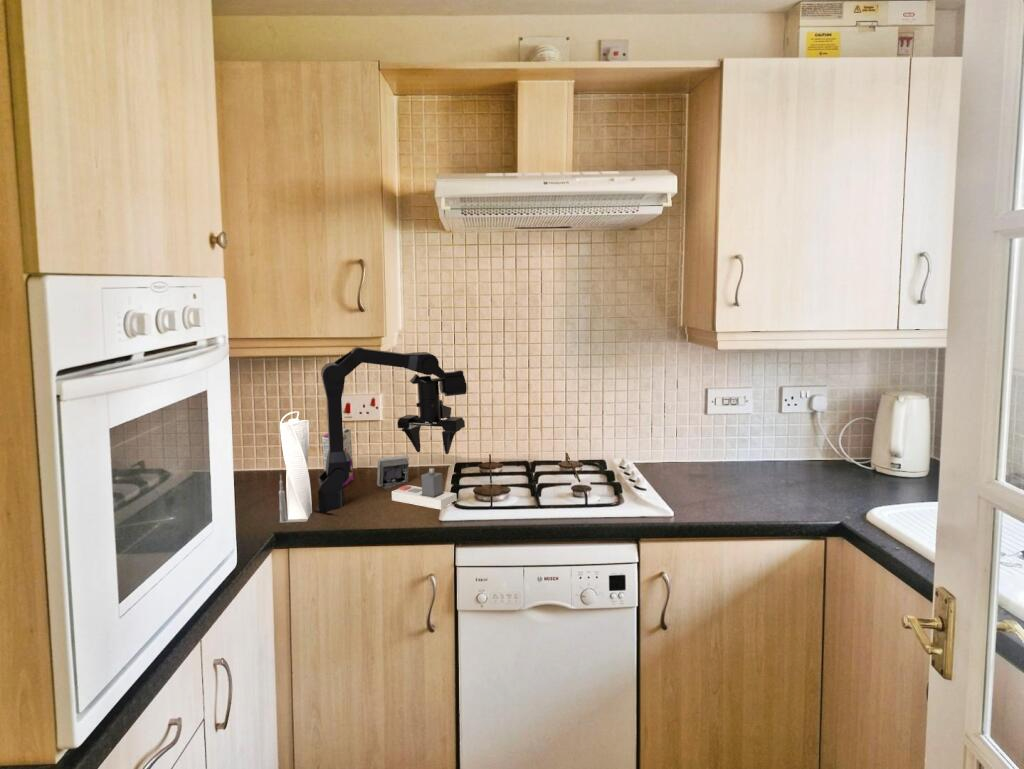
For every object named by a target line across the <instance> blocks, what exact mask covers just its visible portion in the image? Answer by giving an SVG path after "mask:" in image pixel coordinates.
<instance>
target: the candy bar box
mask: <svg viewBox="0 0 1024 769" xmlns="http://www.w3.org/2000/svg"><path fill="white" fill-rule="evenodd" d="M351 434H352V433H351V428H350V427H349V428H346V427H343V447H344V453H349V455H350V457H351V464H350V468H351V471H352V473H350V472H349V478H348V480H347V481H346V482H345V483H343V488H344V487H345V485H346V486H347V485H348V484H349V482H350V483H351V482H353V480H355V479H354V478H355V477H354V466H353V463H354V461H353V451H352V450H353V449H352V448H353V447H352V435H351ZM321 448H322V461H323V462H322V463H323V472H324V471H325V468H326V461H327V455H328V450H329V437H328V432H327V433H326V434H323V435H321Z"/></svg>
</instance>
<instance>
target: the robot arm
mask: <svg viewBox="0 0 1024 769" xmlns="http://www.w3.org/2000/svg"><path fill="white" fill-rule="evenodd" d="M362 363H363V364H364V363H365V364H371V365H380V366H388V367H394V368H395V367H396V368H403V369H407V370H410V371H412V372H416V373H415V374H414V375H413V377H412V378H411V379H410V380H409V382H410V383H411V384H413V385H415V384H416V385H417V392H418V394H417V396H418V402H416V403H415V404H416V407H417V408H418V409H419V415H418V414H407V415H406V414H405V415H404V416H401V417H398V419H397V421H396V422H397V424H396V425H397V429H401V432H404V434H405V435H406V436H407V438H408V439H409V441H410V443H411V444H412V446H413V447H414V449H415V451H416V452H417V453H420V452H421V440H420V439H421V438H420V431H421V427H437V428H438V427H441V428H442V429H443V431H441V437H442V443H443V448H444V449H443V450H444V453H445V455H449V453H450V450H451V447H452V443H453V440H454V436H455V435H456V434H457V432H459V431H461V429H464V428H465V427H466V423H465V422H466V421H465V420H464V418H463V417H461V416H452V415H451V414H452V407H451V406H447V405H444V404H443V399H440V394H443V395H444V396H445V397H453V396H462V395H466V394H467V387H468V385H467V382H466V379H465V375H464V371H463V370H462V369H459V370H455V371H445V370H443V369H442V368H441V366H439V365H440V364H439V363H440V361H439V359H438V358H437V356H436V355H434V354H432V353H430V352H427V351H420V352H418V351H417V352H415V351H414V352H407V353H405V352H404V353H402V352H401V353H400V352H396V351H394V352H393V351H387V350H379V349H372V348H371V349H370V348H363V347H361V346H354V348H352V349H351V350H350V351H349V352H347V353H346V354H344V355H341V357H340V358H338V359H337V360H336V361H334V362H328V363H326V364H324V365H323V366H322V367H321V370H320V376H321V382H322V385H323V389H324V393H325V397H326V410H327V411H326V412H327V413H326V414H327V431H328V432H327V433H328V437H329V450H328V455H327V461H326V468H325V471H324V470H323V472H322V473H321V474H320V475H319V476H318V478H317V481H318V484H319V489H318V490H317V495H318V499H317V500H318V508H315V509H314V512H316V513H321V514H325V515H329V516H331V515H334V513H332V512H331V513H330V511H335V510H340V509H341V508H342V507H343V506H345V504H346V503H345V490H344V487H343V483H345V482H346V481H347V480H348V478H349V472H350V473H352V471H351V468H350V464H351V457H350V455H349V453H344V447H343V428H344V426H343V409H342V408H343V407H342V400H343V399H342V396H343V393H344V387H345V382H346V381H345V380H346V377H347V376H348V375H349V374H351V373H352V372H353V371H355V369H356V368H357V367H358V366H360V365H361V364H362ZM417 373H420V374H421V376H419V375H418V374H417ZM431 375H433V376H435V378H432V377H431ZM436 377H437V378H436Z"/></svg>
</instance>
